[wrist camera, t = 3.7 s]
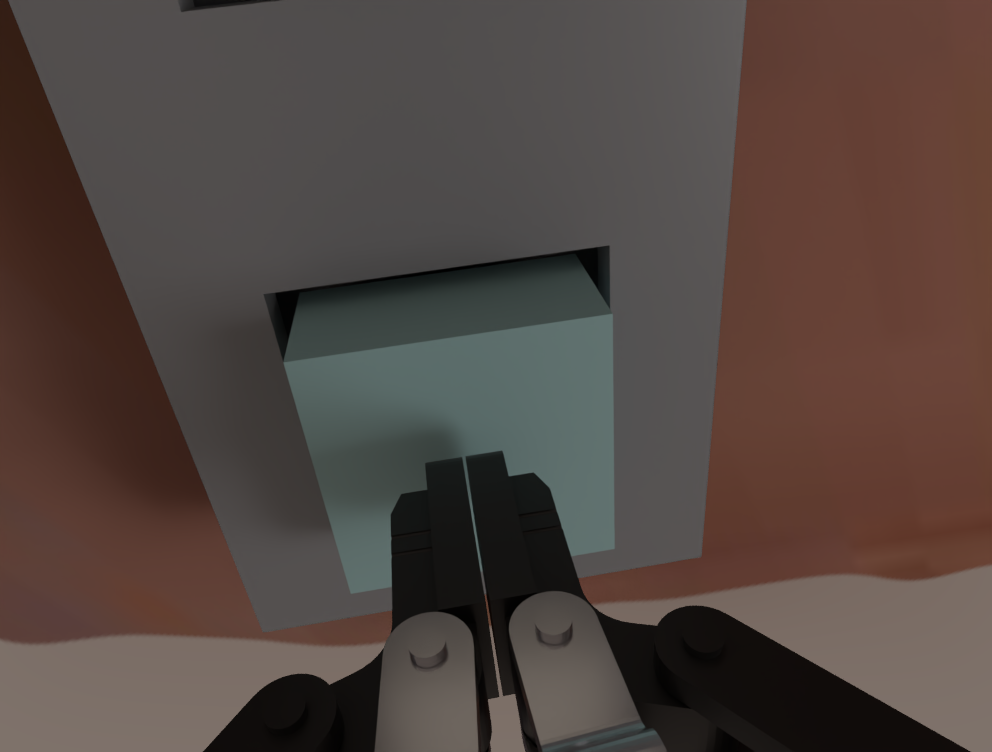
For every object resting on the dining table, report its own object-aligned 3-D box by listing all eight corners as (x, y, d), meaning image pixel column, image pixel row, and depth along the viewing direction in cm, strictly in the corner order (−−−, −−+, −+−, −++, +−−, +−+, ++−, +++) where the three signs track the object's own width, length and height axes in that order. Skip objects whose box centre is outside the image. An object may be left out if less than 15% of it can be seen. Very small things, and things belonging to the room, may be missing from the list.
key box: (669, -749, 11) (842, -1165, 7) (644, 448, 24) (701, 556, 20) (-121, -713, 11) (-460, -1159, 6) (284, 506, 23) (263, 632, 19)
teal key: (575, 253, 16) (612, 313, 13) (583, 467, 19) (614, 548, 16) (299, 292, 15) (283, 362, 13) (355, 504, 18) (350, 594, 16)
